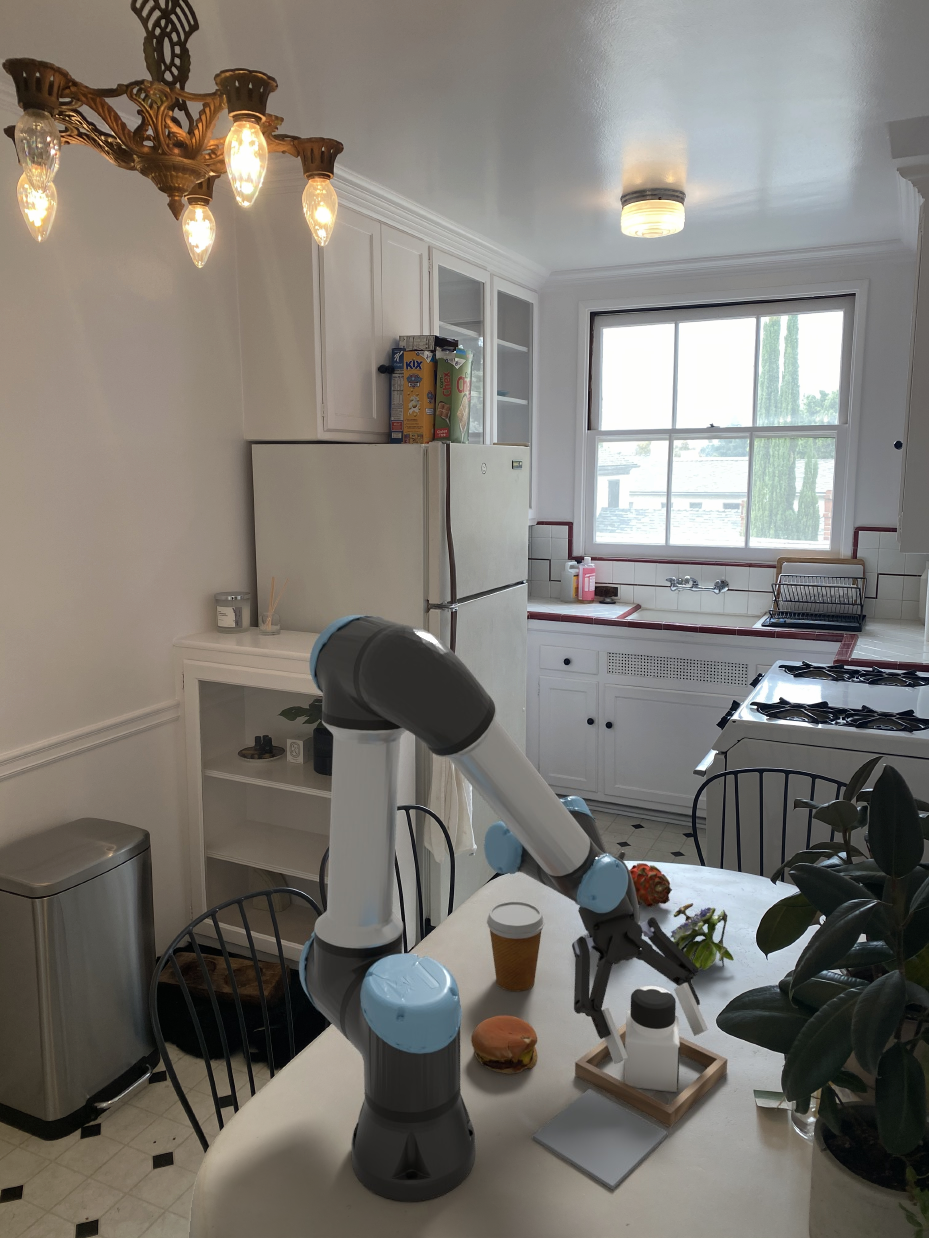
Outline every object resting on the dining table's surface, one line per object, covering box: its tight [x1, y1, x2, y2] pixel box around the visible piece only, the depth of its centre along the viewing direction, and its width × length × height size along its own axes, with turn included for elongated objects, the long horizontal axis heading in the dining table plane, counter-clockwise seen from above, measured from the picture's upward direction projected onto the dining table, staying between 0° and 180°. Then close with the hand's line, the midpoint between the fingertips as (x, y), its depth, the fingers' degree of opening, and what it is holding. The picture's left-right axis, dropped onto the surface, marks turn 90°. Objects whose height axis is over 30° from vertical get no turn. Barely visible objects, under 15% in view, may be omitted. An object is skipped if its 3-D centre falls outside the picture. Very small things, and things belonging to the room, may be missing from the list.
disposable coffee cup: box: [485, 900, 546, 992], centre depth 148 cm, size 10×10×12 cm
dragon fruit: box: [629, 862, 673, 908], centre depth 176 cm, size 8×8×12 cm
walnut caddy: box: [574, 1022, 728, 1128], centre depth 126 cm, size 15×15×2 cm
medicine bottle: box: [623, 985, 680, 1093], centre depth 125 cm, size 7×7×12 cm
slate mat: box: [532, 1088, 668, 1190], centre depth 114 cm, size 12×12×1 cm
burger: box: [470, 1015, 538, 1075], centre depth 129 cm, size 10×9×5 cm
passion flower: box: [668, 902, 734, 971], centre depth 155 cm, size 11×11×12 cm
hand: (662, 1046), depth 123 cm, fingers open, 13 cm apart
